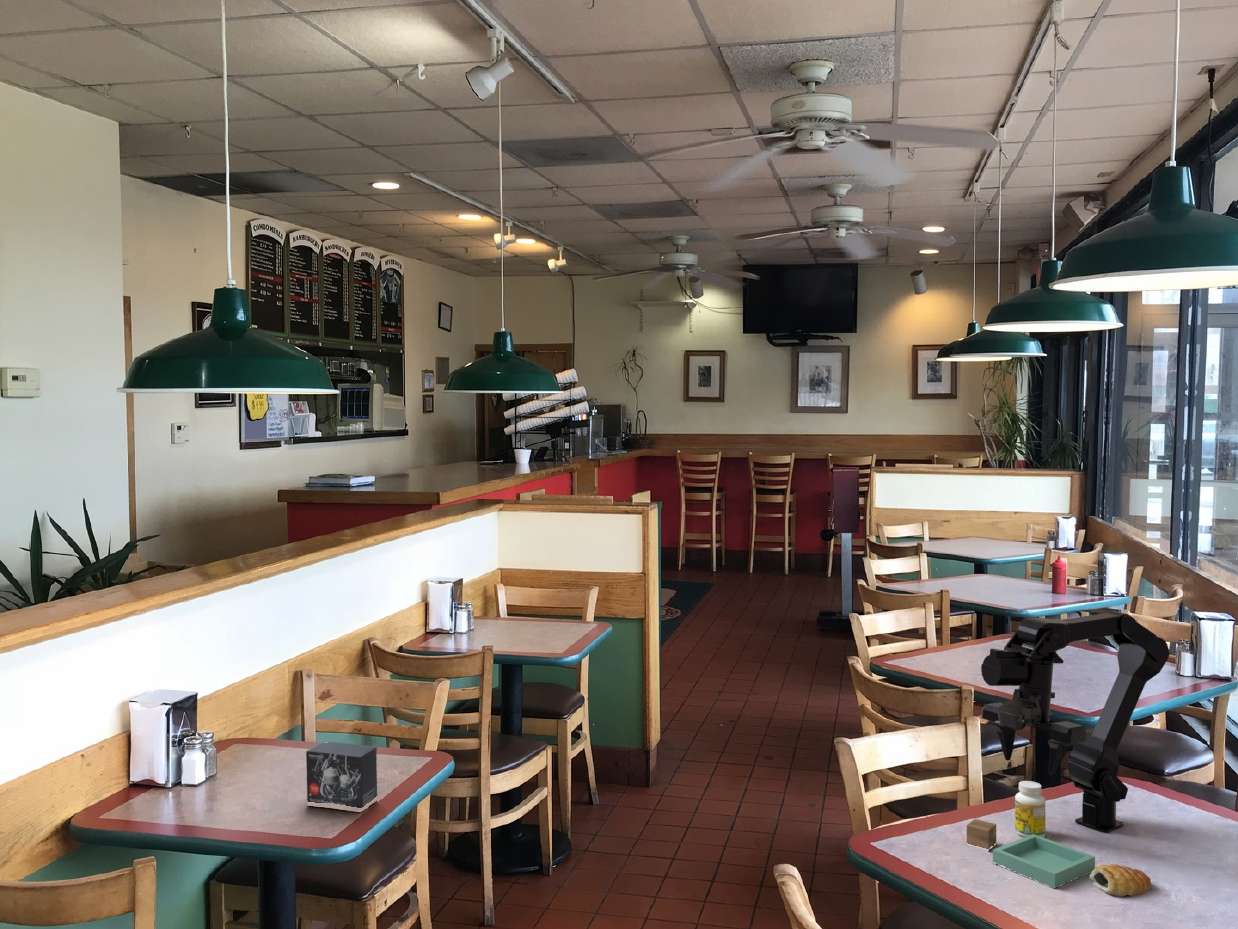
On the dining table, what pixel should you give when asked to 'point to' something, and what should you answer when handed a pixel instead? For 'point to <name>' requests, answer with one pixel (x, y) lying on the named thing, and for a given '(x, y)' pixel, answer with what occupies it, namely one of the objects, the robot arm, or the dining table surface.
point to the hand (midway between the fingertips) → (1029, 767)
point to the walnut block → (981, 833)
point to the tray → (1044, 860)
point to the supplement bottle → (1029, 810)
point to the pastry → (1120, 880)
